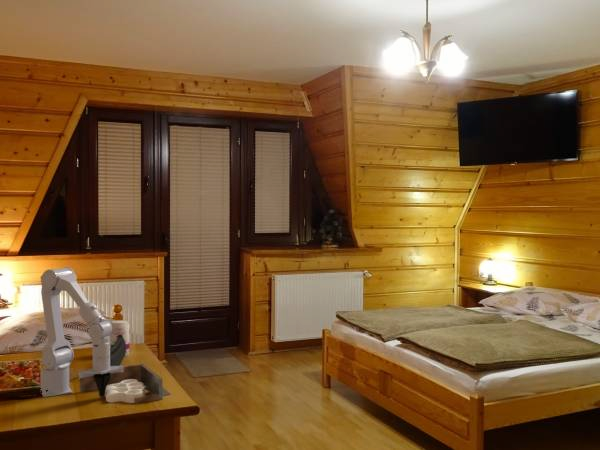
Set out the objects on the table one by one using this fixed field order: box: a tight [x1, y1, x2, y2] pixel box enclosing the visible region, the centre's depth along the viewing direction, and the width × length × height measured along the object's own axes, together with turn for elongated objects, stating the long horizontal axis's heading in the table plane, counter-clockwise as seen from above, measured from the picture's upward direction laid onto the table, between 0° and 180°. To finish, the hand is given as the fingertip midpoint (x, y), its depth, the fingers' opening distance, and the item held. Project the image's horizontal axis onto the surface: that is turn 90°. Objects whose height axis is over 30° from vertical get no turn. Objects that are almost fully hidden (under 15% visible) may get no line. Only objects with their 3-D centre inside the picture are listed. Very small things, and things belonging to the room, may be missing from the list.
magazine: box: [110, 335, 126, 366], centre depth 239 cm, size 17×3×30 cm
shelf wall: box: [79, 363, 159, 405], centre depth 204 cm, size 23×23×7 cm
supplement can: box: [110, 319, 131, 358], centre depth 260 cm, size 8×8×15 cm
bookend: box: [139, 363, 172, 401], centre depth 211 cm, size 5×23×7 cm, turn 31°
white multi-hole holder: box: [104, 379, 150, 404], centre depth 205 cm, size 3×18×15 cm
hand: (101, 395), depth 201 cm, fingers closed
